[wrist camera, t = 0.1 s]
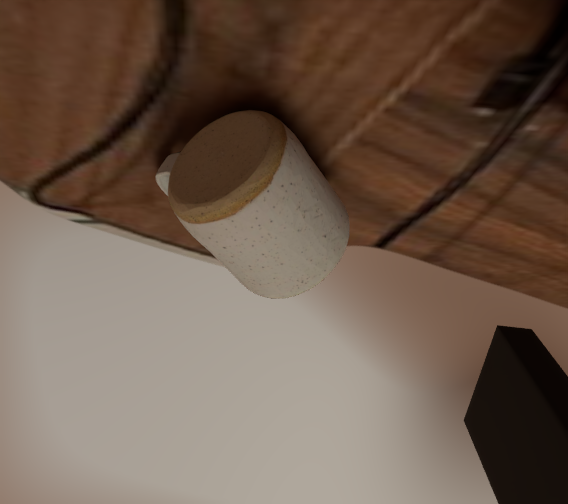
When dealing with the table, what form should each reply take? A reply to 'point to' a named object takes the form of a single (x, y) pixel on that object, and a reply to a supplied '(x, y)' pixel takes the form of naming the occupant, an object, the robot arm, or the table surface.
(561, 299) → the table surface
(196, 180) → the ceramic mug
